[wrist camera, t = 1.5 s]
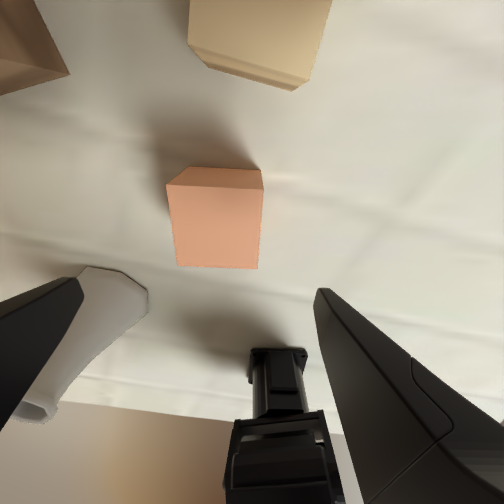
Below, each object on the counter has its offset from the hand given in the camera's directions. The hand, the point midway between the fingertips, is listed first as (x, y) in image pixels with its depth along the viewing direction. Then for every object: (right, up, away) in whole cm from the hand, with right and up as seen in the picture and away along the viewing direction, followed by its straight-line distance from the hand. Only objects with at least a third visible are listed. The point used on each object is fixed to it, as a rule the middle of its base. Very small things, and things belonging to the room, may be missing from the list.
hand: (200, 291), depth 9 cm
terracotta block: (0, +5, +9) cm, 10 cm away
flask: (-12, -3, +14) cm, 18 cm away
